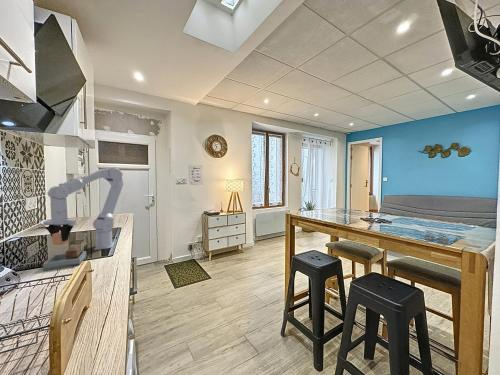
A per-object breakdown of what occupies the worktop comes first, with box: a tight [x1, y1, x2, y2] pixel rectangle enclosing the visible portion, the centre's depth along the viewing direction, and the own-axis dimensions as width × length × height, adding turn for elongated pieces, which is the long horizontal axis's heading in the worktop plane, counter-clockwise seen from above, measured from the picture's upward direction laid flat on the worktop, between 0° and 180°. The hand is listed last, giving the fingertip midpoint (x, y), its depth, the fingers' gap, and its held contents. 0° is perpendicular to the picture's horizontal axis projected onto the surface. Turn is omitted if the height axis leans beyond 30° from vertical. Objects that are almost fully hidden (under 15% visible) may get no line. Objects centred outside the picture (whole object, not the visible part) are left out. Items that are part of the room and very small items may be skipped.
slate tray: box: [42, 250, 87, 272], centre depth 93 cm, size 11×12×3 cm
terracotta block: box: [51, 232, 70, 246], centre depth 99 cm, size 4×4×5 cm
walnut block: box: [65, 247, 81, 260], centre depth 94 cm, size 4×4×5 cm
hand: (60, 240), depth 99 cm, fingers closed on terracotta block, 4 cm apart
